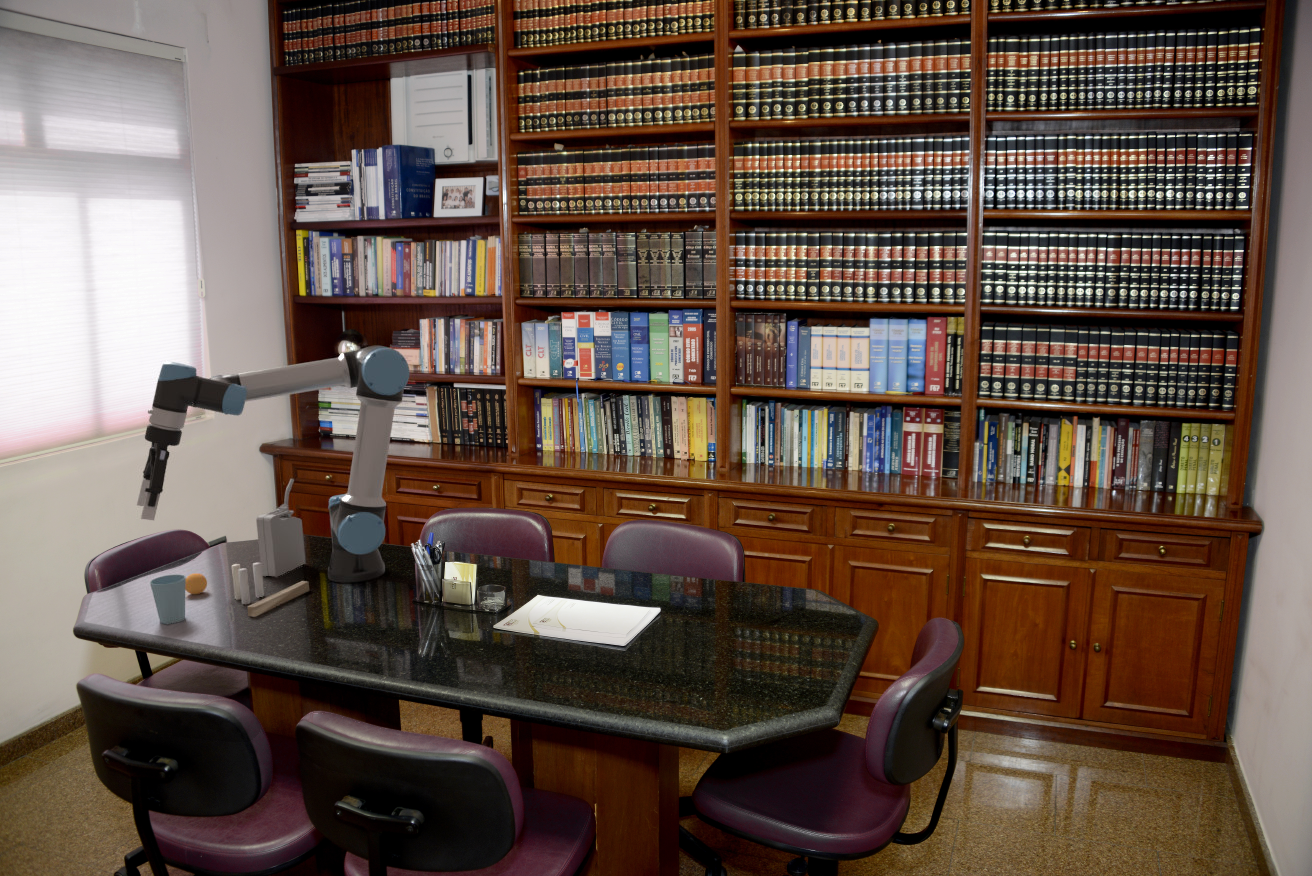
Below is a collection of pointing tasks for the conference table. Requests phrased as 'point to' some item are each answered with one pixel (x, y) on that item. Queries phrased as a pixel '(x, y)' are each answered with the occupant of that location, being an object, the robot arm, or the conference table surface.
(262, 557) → the fuel canister
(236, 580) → the front pin
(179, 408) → the robot arm
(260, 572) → the pin
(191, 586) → the ball
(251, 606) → the beige wooden bar
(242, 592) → the pin
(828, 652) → the conference table surface
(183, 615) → the cup
